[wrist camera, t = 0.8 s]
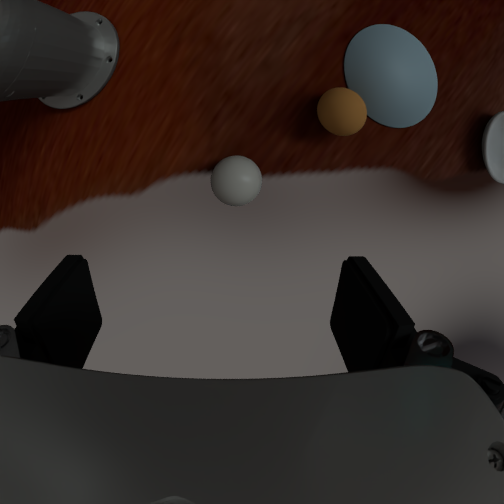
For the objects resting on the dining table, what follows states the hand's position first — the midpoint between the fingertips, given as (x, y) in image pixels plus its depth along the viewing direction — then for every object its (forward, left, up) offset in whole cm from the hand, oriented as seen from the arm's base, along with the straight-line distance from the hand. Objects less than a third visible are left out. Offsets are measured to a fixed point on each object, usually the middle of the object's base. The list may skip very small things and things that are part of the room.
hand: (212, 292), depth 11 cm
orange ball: (+11, +9, -24) cm, 28 cm away
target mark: (+17, +17, -26) cm, 36 cm away
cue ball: (+2, -1, -24) cm, 24 cm away
